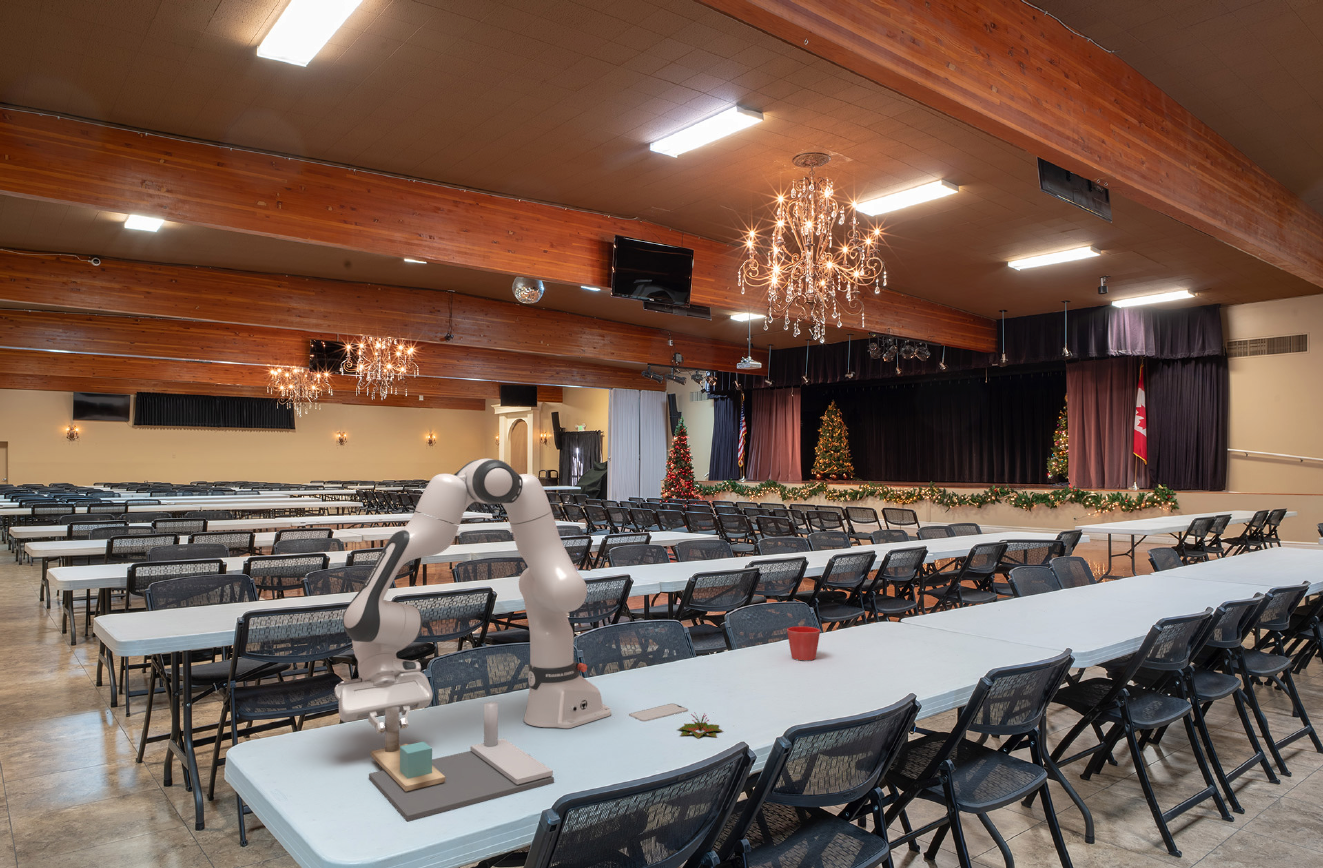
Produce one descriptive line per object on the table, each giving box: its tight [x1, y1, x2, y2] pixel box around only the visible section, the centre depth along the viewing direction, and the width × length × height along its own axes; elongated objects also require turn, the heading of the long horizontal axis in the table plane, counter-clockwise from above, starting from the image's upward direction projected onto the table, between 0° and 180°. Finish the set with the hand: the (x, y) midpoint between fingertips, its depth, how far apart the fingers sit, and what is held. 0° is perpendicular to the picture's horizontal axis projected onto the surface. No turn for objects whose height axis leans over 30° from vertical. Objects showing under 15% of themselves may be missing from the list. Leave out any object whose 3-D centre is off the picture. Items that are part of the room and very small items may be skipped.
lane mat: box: [368, 750, 555, 822], centre depth 165 cm, size 30×25×1 cm
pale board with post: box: [470, 701, 554, 785], centre depth 171 cm, size 8×24×10 cm, turn 36°
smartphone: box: [628, 703, 689, 722], centre depth 209 cm, size 7×1×15 cm
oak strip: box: [370, 707, 445, 791], centre depth 168 cm, size 8×24×10 cm, turn 36°
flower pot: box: [786, 626, 821, 662], centre depth 267 cm, size 11×11×10 cm
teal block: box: [400, 741, 433, 779], centre depth 163 cm, size 5×5×5 cm
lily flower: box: [676, 712, 723, 740], centre depth 194 cm, size 12×12×5 cm
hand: (393, 729), depth 176 cm, fingers open, 4 cm apart
